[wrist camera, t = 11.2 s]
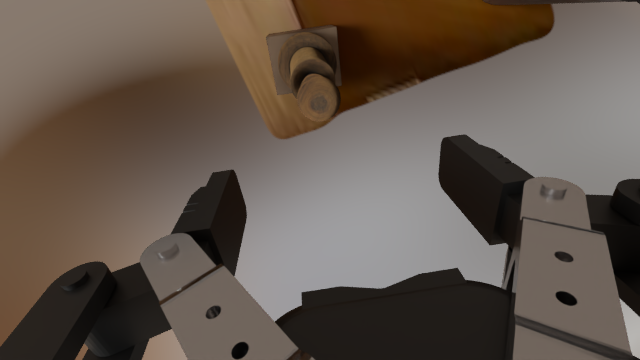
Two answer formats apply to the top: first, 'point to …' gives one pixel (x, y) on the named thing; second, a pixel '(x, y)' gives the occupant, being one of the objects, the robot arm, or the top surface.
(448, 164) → the robot arm
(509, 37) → the top surface
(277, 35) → the walnut stand
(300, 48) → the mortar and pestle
